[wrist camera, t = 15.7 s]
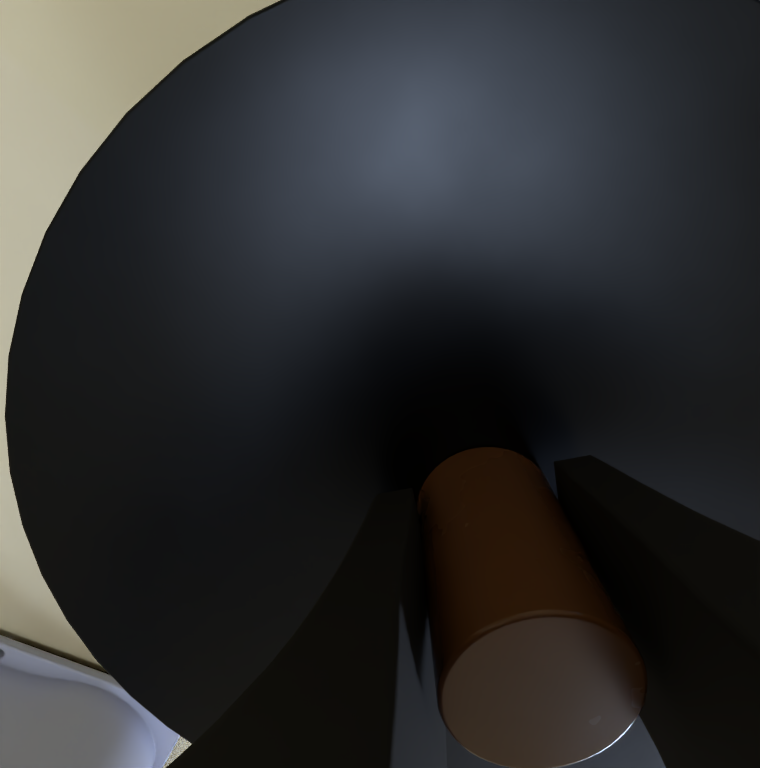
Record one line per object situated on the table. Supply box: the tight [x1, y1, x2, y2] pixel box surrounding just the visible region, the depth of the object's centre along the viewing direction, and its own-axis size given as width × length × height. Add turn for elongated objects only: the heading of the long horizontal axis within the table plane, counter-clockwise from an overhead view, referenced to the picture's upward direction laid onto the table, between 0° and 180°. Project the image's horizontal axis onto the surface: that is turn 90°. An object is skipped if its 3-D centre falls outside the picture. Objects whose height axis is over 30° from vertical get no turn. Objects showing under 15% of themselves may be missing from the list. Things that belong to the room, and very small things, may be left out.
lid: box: [5, 0, 760, 768], centre depth 9 cm, size 17×17×5 cm
